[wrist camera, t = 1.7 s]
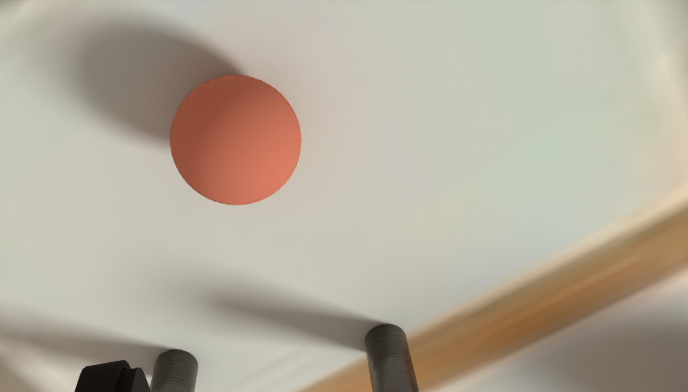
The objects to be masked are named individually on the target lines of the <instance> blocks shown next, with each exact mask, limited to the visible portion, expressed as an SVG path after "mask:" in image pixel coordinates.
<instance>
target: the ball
mask: <svg viewBox="0 0 688 392" xmlns="http://www.w3.org/2000/svg"><path fill="white" fill-rule="evenodd" d="M170 146H171V152H172V157H173V160H174V163H175V165H176V167H177V169H178V171H179V173H180V174H181V176H182V177H183V179H184V180H185V181H186V182H187V183H188V185H190V186H191V187H192V188H193V189H194V190H195V191H197V192H198V193H199V194H201V195H202V196H204V197H206V198H208V199H210V200H213V201H215V202H219V203H222V204H228V205H245V204H250V203H254V202H258V201H260V200H262V199H265V198H267V197H269V196H270V195H272V194H274V193H275V192H276V191H278V190H279V189H280V188H281V187H282V186H283V185H284V184H285V183H286V182H287V180H288V179H289V178H290V176H291V175H292V173H293V171H294V169H295V167H296V165H297V162H298V160H299V155H300V150H301V132H300V127H299V122H298V120H297V117H296V114H295V112H294V110H293V109H292V107H291V105H290V104H289V103H288V101H287V100H286V99H285V97H284V96H283V95H282V94H281V93H280V92H278V91H277V90H276V89H275V88H273V87H272V86H270V85H269V84H267V83H265V82H263V81H261V80H258V79H255V78H252V77H248V76H240V75H228V76H222V77H217V78H214V79H211V80H209V81H207V82H204V83H203V84H201V85H199V86H198V87H196V88H195V89H194V90H193V91H192V92H190V93H189V94H188V95H187V96H186V98H185V99H184V100H183V101H182V103H181V104H180V106H179V108H178V109H177V111H176V114H175V116H174V119H173V122H172V126H171V132H170Z"/></svg>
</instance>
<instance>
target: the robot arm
mask: <svg viewBox="0 0 688 392" xmlns="http://www.w3.org/2000/svg"><path fill="white" fill-rule="evenodd" d="M75 392H151V391H150V388H149V385H148V382H147V380H146V377H145V374H144V372H143V370H142V369H141V368H133V369H131V368H130V366H129V364H128V363H127V362H126V360H121V361H115V362H109V363H103V364H98V365H92V366H86V367H85V368H84V369H83V370H82V372H81V374H80V377H79V380H78V383H77V386H76V389H75Z"/></svg>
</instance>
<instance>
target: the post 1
mask: <svg viewBox="0 0 688 392" xmlns="http://www.w3.org/2000/svg"><path fill="white" fill-rule="evenodd" d="M197 371H198V363H197V360H196V359H195V357H194V356H193V355H191V354H190V353H188V352H185V351H182V350H170V351H166V352H164V353H162V354H161V355H160V356H159V357H158V358H157V360H156V363H155V367H154V371H153V376H152V380H151V384H150V391H151V392H194V390H195V384H196V377H197Z"/></svg>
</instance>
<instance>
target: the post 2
mask: <svg viewBox="0 0 688 392" xmlns="http://www.w3.org/2000/svg"><path fill="white" fill-rule="evenodd" d="M365 346H366V353H367V359H368V365H369V371H370V378H371V384H372V390H373V392H419V389H418V385H417V380H416V376H415V372H414V368H413V364H412V360H411V356H410V352H409V348H408V343H407V339H406V335H405V333H404V331H403V330H402V329H401V328H399V327H397V326H395V325H389V324H386V325H380V326H377V327H375V328H373V329H372V330H371V331H370V332H369V333H368V334H367V336H366V338H365Z"/></svg>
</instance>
